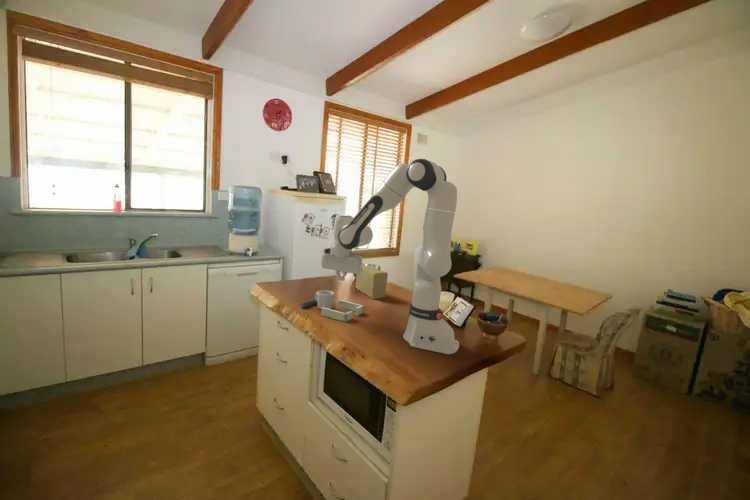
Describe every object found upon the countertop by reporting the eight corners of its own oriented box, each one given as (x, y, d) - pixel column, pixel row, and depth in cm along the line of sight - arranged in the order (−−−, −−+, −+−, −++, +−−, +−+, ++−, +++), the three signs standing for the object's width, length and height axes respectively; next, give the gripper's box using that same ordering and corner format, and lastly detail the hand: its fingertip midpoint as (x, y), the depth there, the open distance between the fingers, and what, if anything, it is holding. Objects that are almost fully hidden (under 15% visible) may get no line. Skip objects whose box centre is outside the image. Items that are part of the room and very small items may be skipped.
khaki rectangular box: (349, 288, 206) (351, 264, 204) (362, 287, 212) (365, 263, 210) (372, 299, 189) (375, 272, 187) (385, 297, 195) (388, 272, 193)
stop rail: (319, 301, 175) (320, 297, 175) (302, 308, 163) (303, 303, 163) (317, 301, 176) (317, 296, 176) (300, 307, 164) (300, 302, 163)
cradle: (363, 312, 167) (363, 305, 166) (345, 322, 152) (346, 314, 151) (339, 306, 172) (340, 299, 171) (320, 314, 157) (321, 307, 157)
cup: (308, 306, 167) (309, 290, 166) (320, 303, 174) (322, 287, 172) (324, 312, 161) (325, 295, 160) (336, 309, 167) (337, 293, 166)
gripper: (365, 252, 157) (363, 282, 159) (327, 247, 166) (326, 275, 168) (358, 254, 152) (357, 285, 154) (320, 248, 160) (319, 278, 162)
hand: (341, 280), depth 161 cm, fingers closed
